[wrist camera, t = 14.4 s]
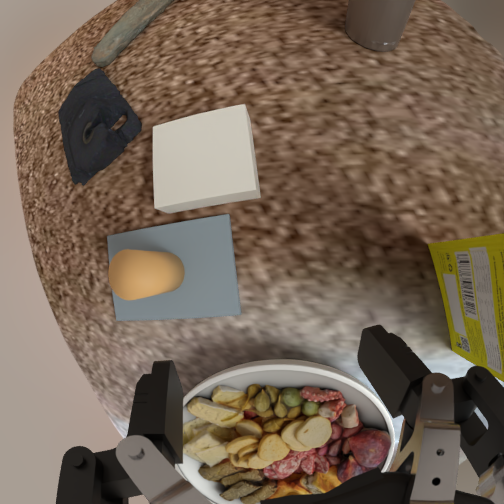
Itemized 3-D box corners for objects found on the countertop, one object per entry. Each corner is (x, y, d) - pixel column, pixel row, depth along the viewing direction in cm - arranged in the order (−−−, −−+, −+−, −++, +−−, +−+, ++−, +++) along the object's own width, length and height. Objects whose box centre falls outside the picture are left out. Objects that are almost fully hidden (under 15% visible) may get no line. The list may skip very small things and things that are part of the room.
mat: (109, 236, 36) (107, 236, 36) (229, 214, 34) (228, 214, 33) (118, 319, 36) (116, 320, 35) (241, 313, 33) (240, 314, 33)
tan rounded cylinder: (147, 254, 35) (106, 252, 26) (182, 249, 34) (146, 245, 25) (152, 293, 34) (111, 301, 26) (186, 290, 34) (151, 299, 25)
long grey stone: (90, 69, 41) (118, 75, 40) (76, 58, 36) (104, 63, 35) (183, -32, 38) (216, -30, 37) (176, -45, 32) (210, -45, 31)
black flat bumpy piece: (113, 63, 39) (101, 51, 34) (149, 135, 37) (133, 122, 32) (57, 114, 41) (43, 105, 36) (79, 195, 38) (59, 190, 34)
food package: (454, 348, 29) (547, 403, 9) (448, 352, 29) (540, 411, 9) (430, 242, 30) (543, 225, 10) (423, 245, 30) (536, 230, 10)
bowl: (216, 506, 33) (204, 534, 26) (151, 368, 35) (122, 389, 28) (388, 480, 29) (398, 510, 21) (371, 321, 31) (391, 338, 23)
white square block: (165, 138, 36) (153, 126, 32) (250, 119, 34) (244, 104, 30) (168, 213, 35) (154, 208, 31) (260, 197, 33) (256, 189, 29)
